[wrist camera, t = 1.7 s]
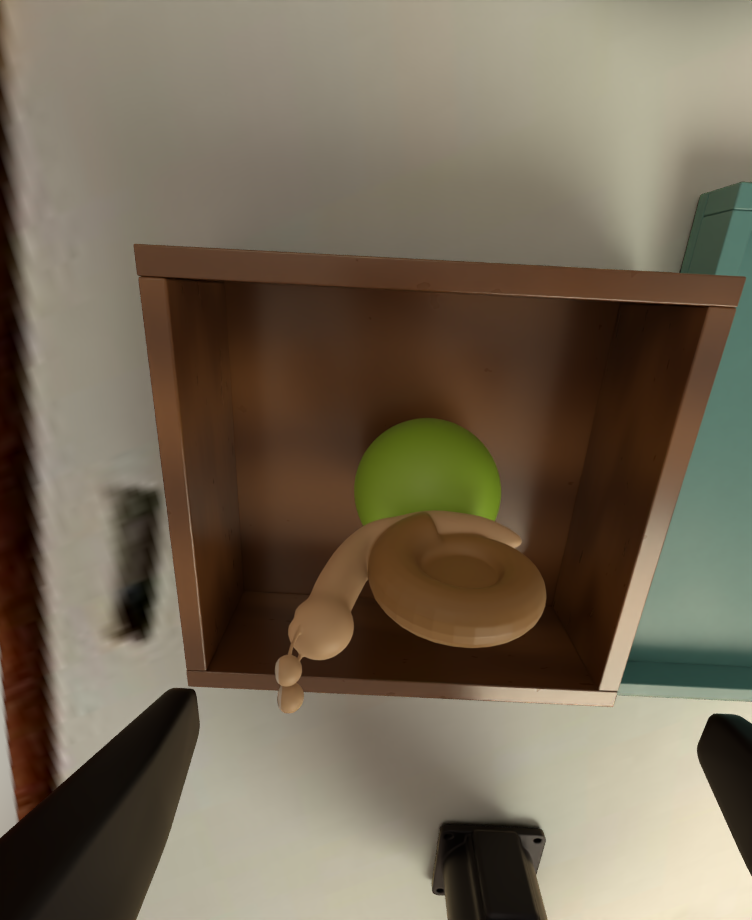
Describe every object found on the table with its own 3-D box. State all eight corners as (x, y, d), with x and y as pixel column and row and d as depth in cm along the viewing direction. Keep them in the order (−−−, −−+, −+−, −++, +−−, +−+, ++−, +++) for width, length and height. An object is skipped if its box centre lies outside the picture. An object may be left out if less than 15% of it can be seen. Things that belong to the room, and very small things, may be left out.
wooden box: (561, 614, 23) (613, 707, 18) (231, 598, 23) (187, 686, 17) (640, 281, 17) (747, 276, 12) (206, 258, 17) (132, 243, 12)
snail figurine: (333, 402, 19) (257, 569, 7) (489, 403, 19) (654, 574, 7) (336, 519, 20) (280, 796, 9) (478, 521, 20) (596, 801, 9)
